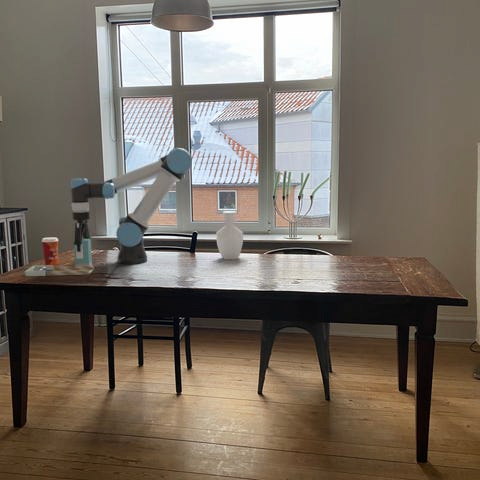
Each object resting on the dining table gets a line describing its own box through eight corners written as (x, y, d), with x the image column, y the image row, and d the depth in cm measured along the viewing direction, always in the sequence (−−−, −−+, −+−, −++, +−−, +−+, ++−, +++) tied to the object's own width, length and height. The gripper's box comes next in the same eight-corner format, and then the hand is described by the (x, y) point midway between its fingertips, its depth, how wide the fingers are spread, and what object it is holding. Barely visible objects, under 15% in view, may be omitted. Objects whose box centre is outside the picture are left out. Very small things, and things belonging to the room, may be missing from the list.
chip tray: (53, 271, 210) (53, 265, 209) (45, 277, 198) (44, 270, 197) (34, 271, 209) (34, 265, 208) (25, 277, 197) (24, 271, 197)
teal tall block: (92, 267, 220) (90, 238, 218) (89, 269, 214) (87, 240, 212) (78, 267, 219) (76, 238, 217) (75, 269, 213) (73, 240, 211)
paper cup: (54, 268, 217) (52, 239, 215) (39, 267, 218) (37, 239, 216) (63, 265, 225) (61, 237, 222) (49, 264, 226) (47, 236, 224)
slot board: (94, 270, 211) (93, 265, 211) (88, 276, 200) (88, 270, 200) (54, 271, 209) (54, 266, 209) (46, 277, 198) (46, 271, 198)
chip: (45, 271, 208) (44, 265, 208) (47, 272, 205) (46, 267, 204) (36, 272, 206) (35, 267, 205) (37, 273, 202) (37, 268, 202)
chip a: (44, 273, 204) (43, 267, 203) (42, 275, 200) (42, 269, 199) (34, 273, 203) (34, 268, 202) (33, 275, 199) (32, 270, 198)
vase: (248, 257, 244) (248, 211, 240) (233, 261, 232) (233, 213, 228) (226, 254, 251) (226, 210, 247) (211, 259, 239) (210, 212, 236)
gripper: (79, 209, 224) (81, 251, 227) (65, 213, 200) (68, 260, 203) (94, 209, 225) (96, 251, 228) (82, 213, 200) (85, 260, 204)
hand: (83, 255), depth 215 cm, fingers open, 13 cm apart
